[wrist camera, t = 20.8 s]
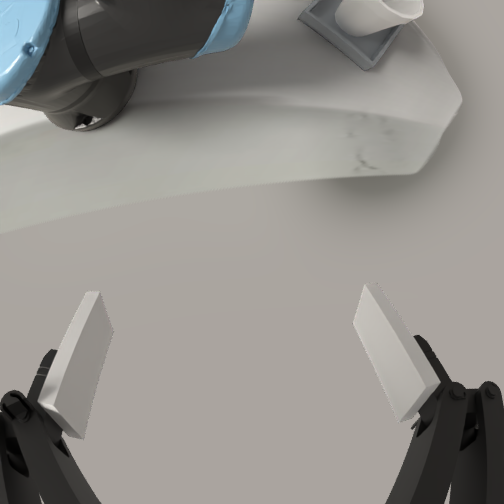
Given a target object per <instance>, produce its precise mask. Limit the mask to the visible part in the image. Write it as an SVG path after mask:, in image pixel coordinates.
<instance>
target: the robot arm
mask: <svg viewBox="0 0 504 504" xmlns="http://www.w3.org/2000/svg"><path fill="white" fill-rule="evenodd" d="M253 3H254V0H0V105H11V106H16V107H22V108H28V109H33V110H38V111H43V112H44V114H45V115H46V116H47V117H48V119H49V120H50V121H51V122H52V123H54V124H55V125H57V126H58V127H61V128H63V129H67V130H72V131H87V130H92V129H95V128H97V127H100V126H102V125H104V124H105V123H107V122H108V121H110V120H111V119H113V118H114V117H115V116H116V115H117V114H118V113H119V112H120V111H121V110H122V109H123V107H124V106H125V105H126V103H127V102H128V100H129V99H130V97H131V95H132V93H133V90H134V88H135V85H136V80H137V68H141V67H145V66H150V65H154V64H159V63H164V62H169V61H174V60H179V59H185V58H190V59H194V58H197V57H199V56H201V55H204V54H209V53H215V52H221V51H226V50H228V49H230V48H232V47H234V46H235V45H236V44H237V43H238V42H239V41H240V40H241V38H242V37H243V35H244V33H245V31H246V29H247V26H248V23H249V20H250V17H251V12H252V8H253ZM353 325H354V327H355V329H356V331H357V334H358V335H359V337H360V340H361V342H362V344H363V346H364V348H365V350H366V352H367V354H368V356H369V358H370V361H371V362H372V365H373V367H374V369H375V371H376V374H377V376H378V378H379V380H380V382H381V384H382V387H383V389H384V391H385V393H386V395H387V398H388V400H389V402H390V404H391V407H392V409H393V412H394V414H395V416H396V419H397V421H398V423H399V422H403V421H406V420H409V419H412V418H413V417H414V415H415V414H416V413H417V412H419V414H420V416H421V417H420V418H419V419H418V420H417V421H416V422H415V423H414V424H413V426H412V427H411V429H414V428H415V426H416V429H415V431H414V434H413V437H412V440H411V443H410V446H409V449H408V452H407V455H406V457H405V460H404V462H403V465H402V467H401V470H400V472H399V475H398V477H397V479H396V482H395V484H394V486H393V489H392V491H391V493H390V495H389V497H388V499H387V501H386V503H385V504H444V502H445V499H446V496H447V493H448V490H449V487H450V484H451V492H450V501H449V504H504V406H503V401H502V395H501V391H500V389H499V387H498V386H497V385H496V384H495V383H493V382H490V381H487V382H484V383H483V384H482V385H481V386H480V387H479V389H466V388H465V387H464V386H463V385H462V384H460V383H458V382H452V381H451V379H450V378H449V376H448V374H447V373H446V371H445V369H444V368H443V366H442V364H441V363H440V361H439V360H438V358H436V355H435V353H434V352H433V351H432V349H431V347H430V345H429V344H428V343H427V341H426V340H425V339H423V338H422V337H421V336H420V335H416V336H413V335H412V334H411V332H410V331H409V329H408V328H407V326H406V325H405V323H404V321H403V320H402V318H401V317H400V315H399V314H398V312H397V311H396V309H395V308H394V306H393V305H392V303H391V302H390V300H389V299H388V297H387V296H386V295H385V293H384V292H383V290H382V289H381V287H380V286H379V285H378V283H368V284H364V288H363V291H362V295H361V298H360V302H359V305H358V308H357V311H356V315H355V318H354V321H353ZM113 333H114V331H113V328H112V325H111V323H110V320H109V317H108V314H107V311H106V308H105V305H104V302H103V299H102V296H101V293H100V291H87V292H86V294H85V296H84V298H83V300H82V302H81V303H80V306H79V307H78V309H77V311H76V313H75V315H74V317H73V319H72V321H71V323H70V325H69V327H68V330H67V332H66V334H65V336H64V338H63V340H62V342H61V345H60V347H59V349H58V350H53V349H51V350H50V351H49V352H48V353H47V354H46V355H45V356H44V358H43V360H42V362H41V364H40V368H39V369H38V371H37V375H36V376H35V378H34V381H33V383H32V386H31V388H30V390H29V393H28V396H27V398H26V397H25V396H24V395H23V394H22V393H21V392H19V391H16V390H13V391H9V392H8V393H6V394H5V395H4V396H3V398H2V399H1V402H0V410H1V411H2V412H0V504H42V503H41V499H40V496H41V498H42V500H43V502H44V504H101V503H100V501H99V500H98V498H97V497H96V495H95V494H94V492H93V491H92V489H91V487H90V486H89V484H88V483H87V481H86V479H85V478H84V476H83V474H82V473H81V471H80V469H79V468H78V466H77V464H76V462H75V460H74V458H73V457H72V455H71V453H70V451H69V449H68V447H67V445H66V443H65V441H64V439H63V438H62V437H61V435H62V431H64V432H65V433H66V434H67V435H68V436H70V437H75V438H79V439H84V436H85V432H86V427H87V423H88V419H89V415H90V411H91V407H92V403H93V399H94V395H95V391H96V388H97V384H98V381H99V377H100V374H101V370H102V367H103V364H104V361H105V357H106V354H107V351H108V348H109V345H110V342H111V339H112V336H113ZM39 494H40V495H39Z"/></svg>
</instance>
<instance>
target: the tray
mask: <svg viewBox="0 0 504 504" xmlns="http://www.w3.org/2000/svg"><path fill="white" fill-rule="evenodd" d="M341 2H342V0H314V1H313V2H312V3H311V4H310V5H309V6H308V7H307V8H306V9H305V10H304V11H303V12H302V14H301V15H300V16H299V18H298V19H299V20H300V21H302V22H303V23H304V24H306V25H307V26H309V27H310V28H312V29H313V30H314V31H316V32H317V33H318V34H320V35H321V36H322V37H324V38H325V39H326V40H328V41H329V42H330V43H332V44H333V45H334V46H335V47H337V48H338V49H339V50H340V51H342V52H343V53H344V54H345V55H346V56H348V57H349V58H350V59H351V60H352V61H353V62H355V63H356V64H357V65H358V66H359V67H360V68H361V69H363V70H364V71H366V70H368V69H370V68H372V67H374V66H375V65H376V63H377V62H378V60H379V59H380V58H381V56H382V55H383V54H384V52H385V51H386V49H387V48H388V47H389V45H390V44H391V43H392V41H393V40H394V38H395V37H396V36H397V34H398V33H399V32H400V30H401V29H402V28H403V26H404V25H405V24H399V25H396V26H393V27H390V28H387V29H383V30H380V31H378V32H375V33H372V34H369V35H366V36H363V37H355V36H352V35H349V34H347V33H346V32H345V31H343V30H342V29H341V28H340V27H339V25H338V24H337V22H336V19H335V13H336V10H337V9H338V7H339V5H340V4H341Z"/></svg>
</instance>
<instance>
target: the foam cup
mask: <svg viewBox="0 0 504 504" xmlns="http://www.w3.org/2000/svg"><path fill="white" fill-rule="evenodd" d="M423 9H424V4H423V0H342V2H341V4H340V5H339V7H338V9H337V10H336V13H335V19H336V22H337V24H338V25H339V27H340V28H341V29H342V30H343V31H345V32H346V33H347V34H349V35H352V36H355V37H363V36H366V35H369V34H372V33H375V32H378V31H380V30H383V29H387V28H390V27H393V26H396V25H399V24H406V23H408V22H410V21H412V20H414V19H416V18H418V17H420V16H421V15H422V14H423Z"/></svg>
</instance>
